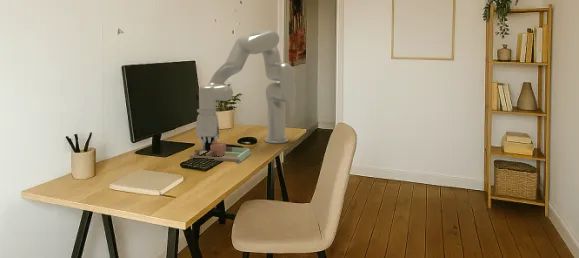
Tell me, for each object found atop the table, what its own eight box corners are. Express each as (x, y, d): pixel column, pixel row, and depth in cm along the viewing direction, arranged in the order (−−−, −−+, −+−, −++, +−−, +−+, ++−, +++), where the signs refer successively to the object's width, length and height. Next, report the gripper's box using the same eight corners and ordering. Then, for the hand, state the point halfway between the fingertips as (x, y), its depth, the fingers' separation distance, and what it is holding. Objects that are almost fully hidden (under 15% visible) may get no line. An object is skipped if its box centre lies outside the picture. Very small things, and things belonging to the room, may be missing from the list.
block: (215, 152, 205) (215, 142, 204) (226, 153, 204) (225, 143, 203) (210, 155, 200) (210, 145, 199) (221, 156, 198) (221, 145, 197)
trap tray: (203, 151, 209) (203, 145, 209) (250, 154, 204) (250, 148, 203) (189, 159, 195) (189, 152, 194) (238, 163, 189) (238, 156, 189)
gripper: (189, 112, 198) (190, 151, 201) (219, 114, 194) (219, 153, 197) (196, 110, 205) (197, 147, 208) (225, 111, 201) (226, 149, 205)
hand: (208, 150), depth 203 cm, fingers closed
